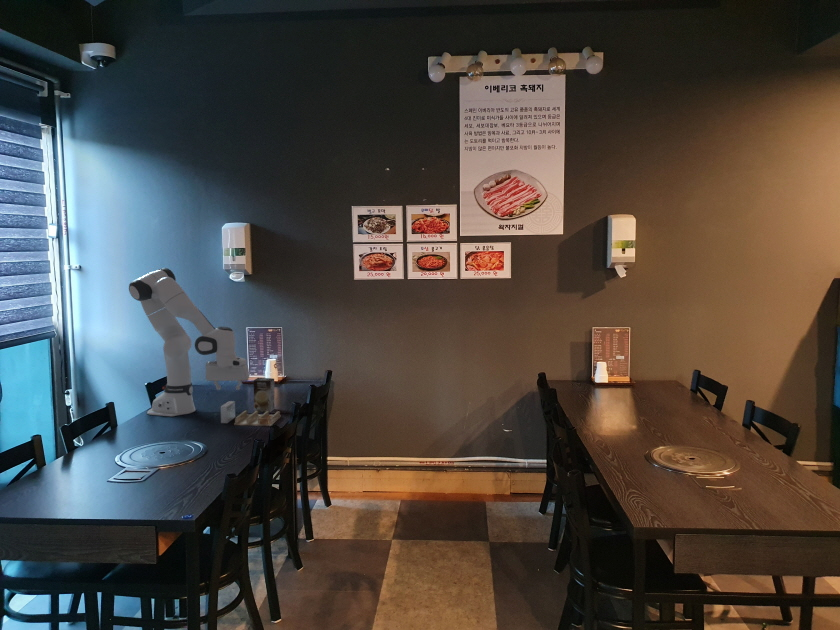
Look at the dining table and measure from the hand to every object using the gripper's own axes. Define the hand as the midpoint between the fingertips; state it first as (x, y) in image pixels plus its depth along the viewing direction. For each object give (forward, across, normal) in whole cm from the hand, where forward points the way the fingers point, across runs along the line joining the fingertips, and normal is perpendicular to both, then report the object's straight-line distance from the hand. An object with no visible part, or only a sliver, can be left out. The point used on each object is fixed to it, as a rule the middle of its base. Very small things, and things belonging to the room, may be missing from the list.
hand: (228, 389), depth 282 cm
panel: (+15, -1, 0) cm, 15 cm away
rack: (+15, +14, 0) cm, 20 cm away
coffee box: (+15, +10, +18) cm, 26 cm away
